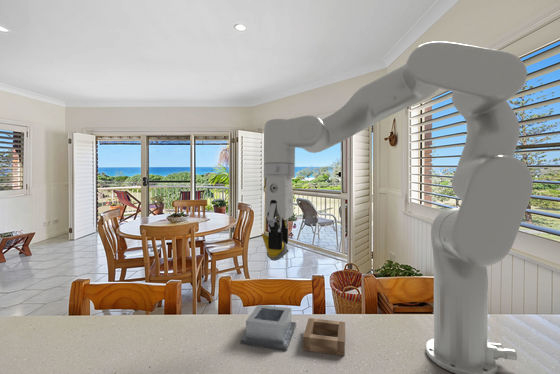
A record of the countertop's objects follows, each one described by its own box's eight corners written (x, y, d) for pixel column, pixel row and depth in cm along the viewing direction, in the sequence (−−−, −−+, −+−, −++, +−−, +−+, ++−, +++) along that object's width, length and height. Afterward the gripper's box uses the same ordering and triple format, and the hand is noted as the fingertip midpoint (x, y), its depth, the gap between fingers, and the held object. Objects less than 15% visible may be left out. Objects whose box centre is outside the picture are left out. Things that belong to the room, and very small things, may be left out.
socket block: (345, 334, 69) (345, 321, 69) (344, 355, 61) (344, 341, 61) (308, 329, 72) (308, 318, 72) (303, 350, 63) (303, 336, 63)
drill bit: (293, 262, 68) (270, 237, 63) (274, 270, 69) (251, 246, 64) (293, 245, 72) (271, 221, 67) (275, 253, 74) (253, 229, 69)
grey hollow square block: (296, 326, 73) (295, 307, 73) (286, 350, 63) (286, 328, 63) (255, 321, 76) (255, 303, 76) (240, 343, 65) (240, 322, 65)
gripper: (286, 170, 59) (285, 256, 59) (300, 173, 76) (299, 240, 76) (252, 170, 61) (252, 253, 61) (273, 173, 78) (272, 238, 78)
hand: (278, 245), depth 69 cm, fingers closed on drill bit, 5 cm apart
